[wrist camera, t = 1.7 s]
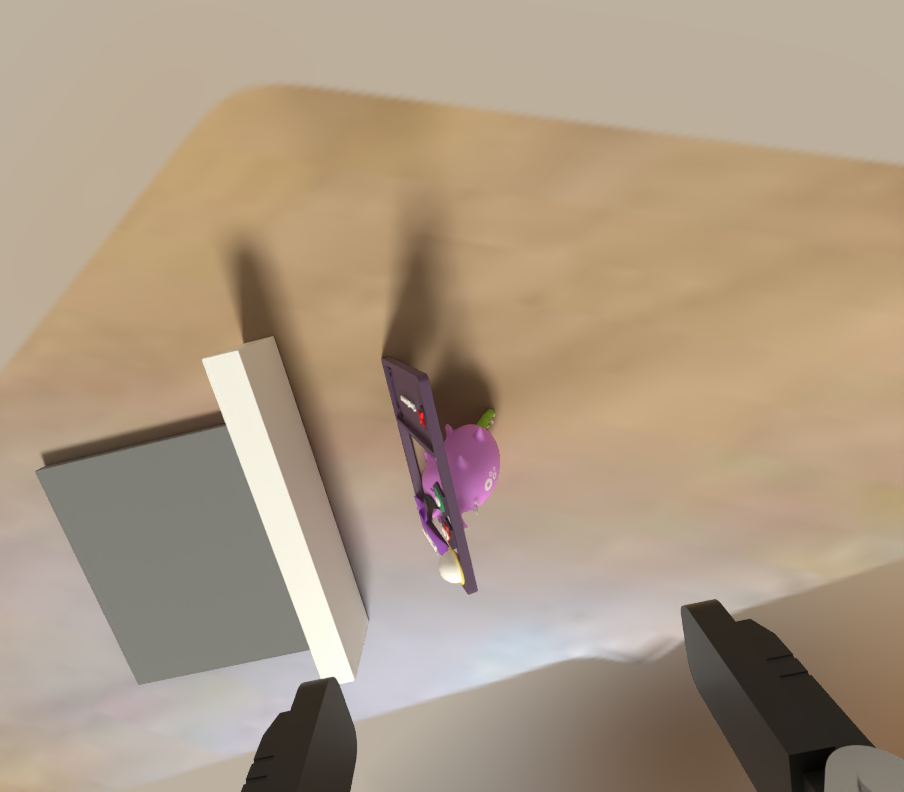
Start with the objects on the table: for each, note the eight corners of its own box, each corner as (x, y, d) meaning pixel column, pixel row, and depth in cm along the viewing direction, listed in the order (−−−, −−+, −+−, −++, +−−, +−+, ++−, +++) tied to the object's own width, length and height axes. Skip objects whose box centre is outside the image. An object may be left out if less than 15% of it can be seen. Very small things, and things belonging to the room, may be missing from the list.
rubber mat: (252, 416, 25) (248, 420, 24) (332, 637, 28) (329, 645, 27) (44, 466, 25) (34, 471, 25) (145, 676, 29) (138, 684, 28)
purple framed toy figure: (397, 383, 17) (452, 604, 20) (531, 345, 19) (568, 556, 21) (365, 361, 24) (409, 531, 26) (467, 334, 25) (501, 498, 27)
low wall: (273, 335, 24) (237, 350, 20) (369, 622, 28) (354, 680, 24) (243, 343, 24) (201, 359, 20) (342, 627, 28) (324, 686, 24)
